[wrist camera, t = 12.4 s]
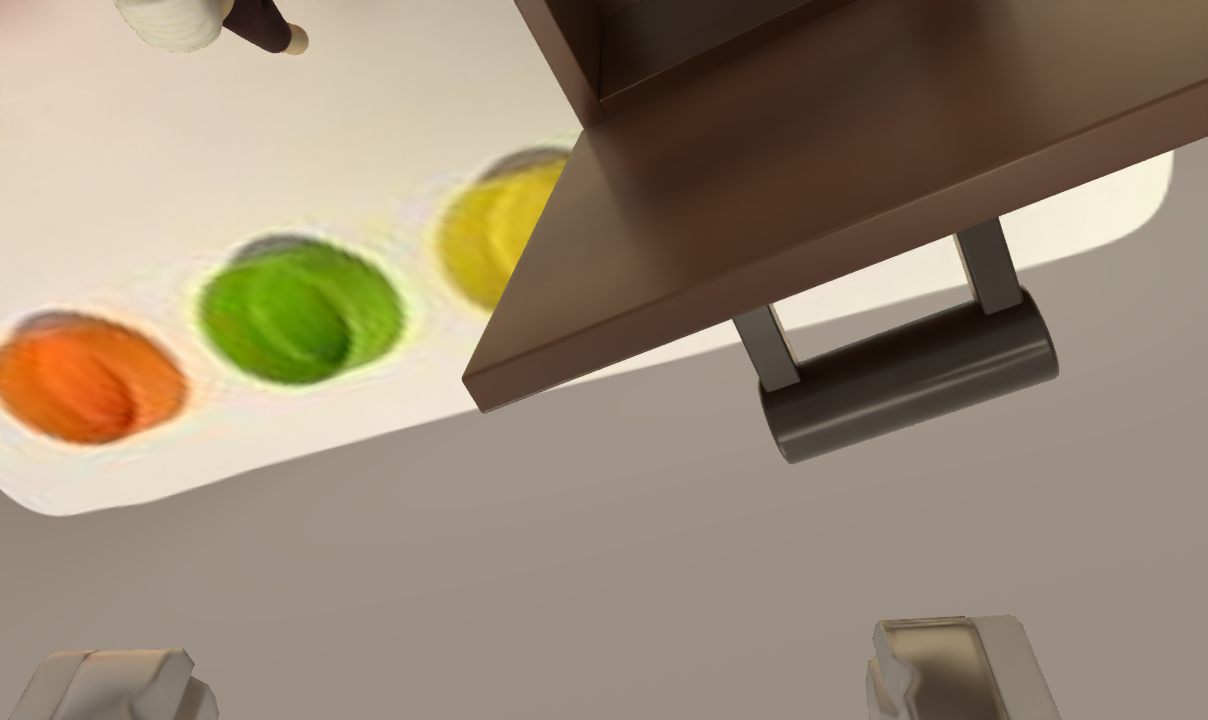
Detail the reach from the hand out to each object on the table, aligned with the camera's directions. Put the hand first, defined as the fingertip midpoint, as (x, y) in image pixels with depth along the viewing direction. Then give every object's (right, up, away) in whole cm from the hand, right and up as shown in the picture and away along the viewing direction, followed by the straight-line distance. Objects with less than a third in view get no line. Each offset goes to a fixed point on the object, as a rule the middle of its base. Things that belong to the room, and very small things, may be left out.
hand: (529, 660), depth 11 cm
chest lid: (+5, +9, +10) cm, 15 cm away
